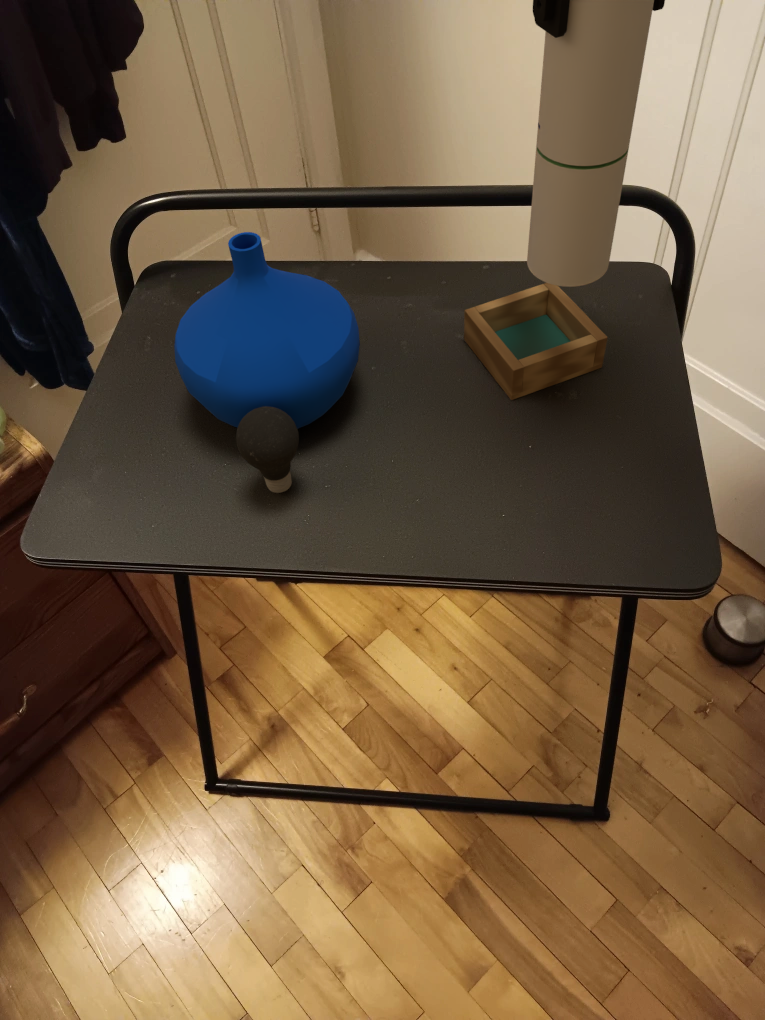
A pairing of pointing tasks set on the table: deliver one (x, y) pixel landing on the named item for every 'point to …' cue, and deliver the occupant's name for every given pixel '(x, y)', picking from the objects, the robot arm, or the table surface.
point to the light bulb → (269, 444)
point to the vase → (267, 341)
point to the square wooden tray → (534, 339)
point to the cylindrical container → (585, 137)
